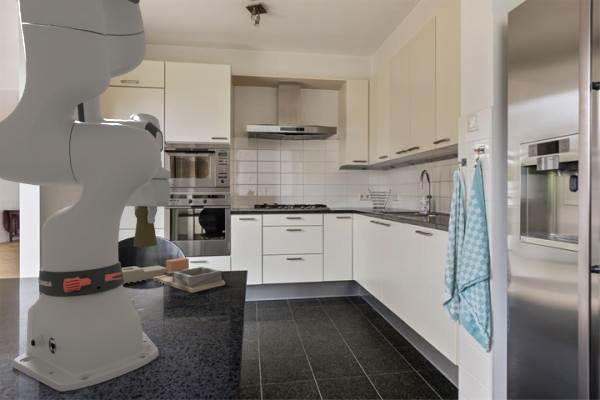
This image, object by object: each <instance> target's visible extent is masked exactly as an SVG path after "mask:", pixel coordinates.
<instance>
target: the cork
mask: <svg viewBox="0 0 600 400" xmlns="http://www.w3.org/2000/svg"><path fill="white" fill-rule="evenodd" d="M134 216H135V217H136V224H135V225H136V226H135V230H134V231H135V233H134V239H133V240H134V241H133V247H135V248H147V247H156V246H157V245H158V241H157V236H156V229H155V223H146V217H147V216H148V211H147V207H143V206H142V207H138V208H136V210H135V209H134Z"/></svg>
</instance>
